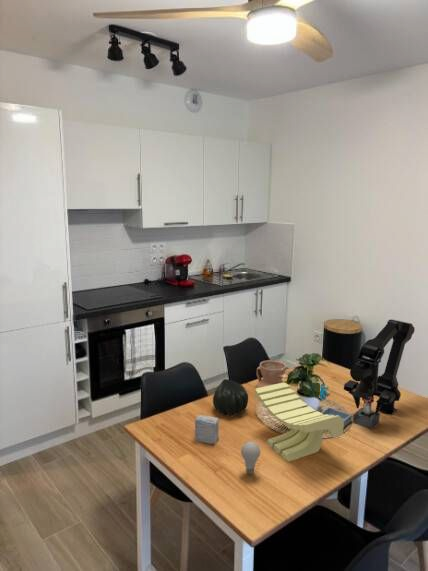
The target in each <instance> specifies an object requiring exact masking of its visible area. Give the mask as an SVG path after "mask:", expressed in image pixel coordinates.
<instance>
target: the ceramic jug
mask: <svg viewBox="0 0 428 571" xmlns="http://www.w3.org/2000/svg"><path fill="white" fill-rule="evenodd" d="M286 371H287V365H286V364H285V363H284V362H281V361H277V360H269V359H268V360H263V361H261V362H260V363H259V366H258V367H257V368H256V377H257V380H258V382H257V384H256V388H260V387H265V386H270V385H274V384H279V383H286V382H285V381H283V380H282V379H284V380H286V379H287V378H288V375H286V374H285V373H286ZM261 376H262V377H261Z"/></svg>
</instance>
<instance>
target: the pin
mask: <svg viewBox="0 0 428 571" xmlns="http://www.w3.org/2000/svg"><path fill="white" fill-rule="evenodd" d="M361 400H362V401H363V406H362V408H363V415H365V416H368V417H371V411H372V404H373V403H374V401H375V396H373V397H368V399H363V398H361Z"/></svg>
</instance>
